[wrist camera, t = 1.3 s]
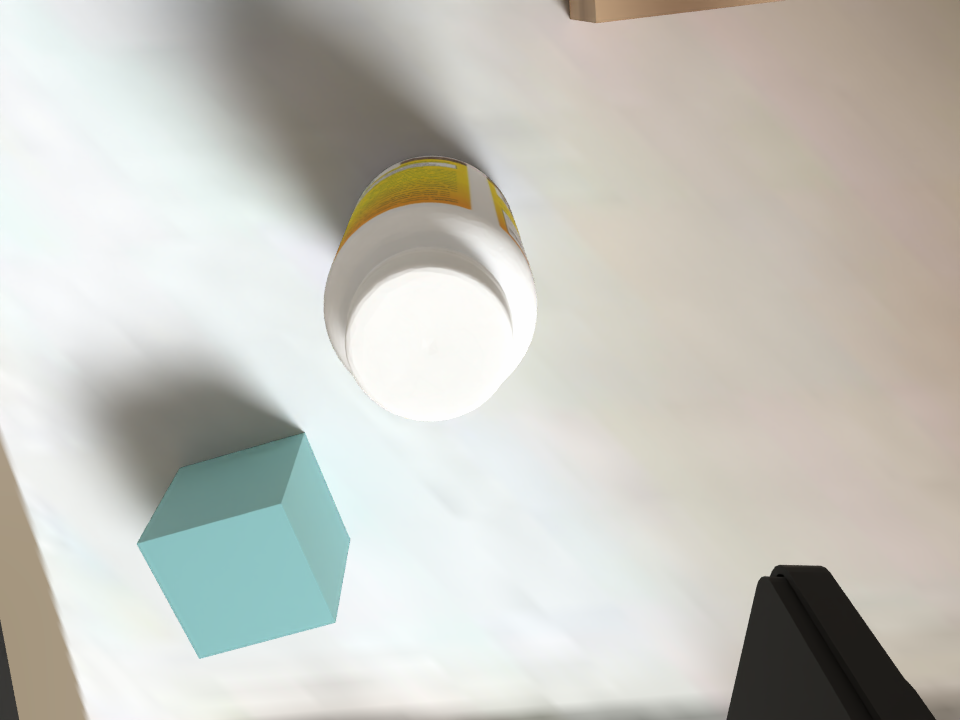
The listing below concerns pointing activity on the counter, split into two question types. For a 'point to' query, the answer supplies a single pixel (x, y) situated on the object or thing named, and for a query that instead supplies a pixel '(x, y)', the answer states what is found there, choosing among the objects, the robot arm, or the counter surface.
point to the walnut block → (644, 8)
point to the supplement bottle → (430, 290)
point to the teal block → (249, 547)
